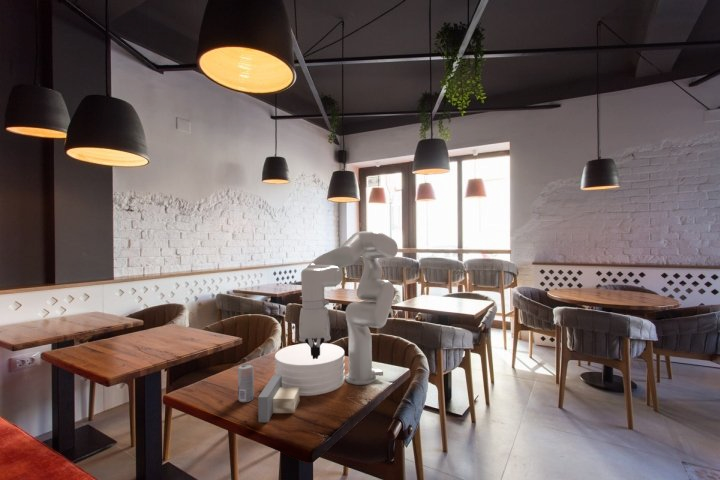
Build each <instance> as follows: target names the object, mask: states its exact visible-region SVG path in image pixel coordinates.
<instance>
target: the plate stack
mask: <svg viewBox="0 0 720 480" xmlns="http://www.w3.org/2000/svg"><path fill="white" fill-rule="evenodd" d="M314 343H315V345H316V344H317V342H314ZM345 358H346V357H345V350H344V348H343V347H341V346H339V345H336V344H333V343H327V342H323V343H322V344H321V345H320V355H319V356H318V359H313V356H311V347H310V346H309V345H308V344H307V343H306V342H303V343H298V344H294V345H289V346H286V347H284V348H281V349H280V350H278V351H277V352H275V354H274V365H275V367H274V375H282V387H299V397H300V396H301V397H303V396H306V397H310V396H317V395H323V394H326V393H330V392H333V391H335V390H338V389H339V388H340V387H341V386H343V384H344V383H345V382H346V380H345V376H346V374H345V373H346V372H345V371H346V370H345V366H346V364H345V361H346V359H345Z"/></svg>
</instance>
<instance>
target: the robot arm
mask: <svg viewBox="0 0 720 480" xmlns="http://www.w3.org/2000/svg"><path fill="white" fill-rule="evenodd" d="M397 254H398V244H397V242H396V240H395V239H393V238H392V237H390V236H388V235H387V234H384V233H383V232H380V231H377V230H375V231H374V230H372V231H358V232H355V233H353V234H352V235H351V236H350V237H349V238H348V239H347V240H346V241H344V242H343V244H341V245H340V246H339V247H337V248H334V249H332V250H330V251H328V252H325V253H323V254H321V255H319V256H317V257H316V258H315V259H314V260H312V262H310V263H309V264H308V265H307V267H306V268H304V269H302V271H301V272H300V273H301V274H300V276H301V278H300V279H301V302H302V304H301V305H302V307H301V308H300V313H299V320H298V323H299V324H298V327H299V328H298V333H299V339H298V340H299V342H303V343H307V344H308V345H309V346H310V347H311V356H313V359H318V356H319V355H320V345H321V344H322V343H326V342H328V341H330V340H331V338H332V337H331V334H330V333H331V325H330V324H331V322H330V314H329V311H328V306H327V305H330V301H329V300H326V298H325V288H333V287H336V286H339V285H340V284H341V282H342V281H343V279H344V272H343V270H342V268H346V267H349V266H352V265H354V264H355V263H357V261H358V260H359V259H360V258H362V263H363V270H362V274H361V278H360V279H359V282H358V283H359V284H358V286H357V289H356V296H357V298H358V299H359V300H360V301H352V302H350V303H349V304H348V305H347V306H346V308H345V321H346V324H347V333H348V341H347V342H348V373H346V374H345V382H347V383H349V384H351V385H356V386H362V385H365V386H366V385H369V384H372V383H374V382H375V381H376V380H377V376H384V370H381V369H380V368H373V367H374V365H373V354H372V353H373V352H372V351H373V349H372V348H373V345H372V344H373V343H372V333H371V331H370V329H369V328H373V329H382V328H383V327H384V326H386V323H387V320H388V318H389V314H390V311H391V308H392V304H393V301H394V297H395V288H394V284H393V283H392V282H391V281H390V280H388V279H387V280H386V279H382V277H383V275H384V270H383V268H382V265H381V264H380V262H379V260H378V259H383V260H384V259H388V260H390V259H394V258H395V257H396V255H397ZM314 339H316V342H315V340H314ZM315 343H317V344H316V345H315Z"/></svg>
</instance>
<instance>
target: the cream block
mask: <svg viewBox="0 0 720 480" xmlns="http://www.w3.org/2000/svg"><path fill="white" fill-rule="evenodd" d="M299 403H300V396H299V387H280V388H279V390H278V391H277V393H276V394H275V396H274V398H273V414H295V412H296V410H297V407H298V405H299Z"/></svg>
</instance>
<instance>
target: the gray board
mask: <svg viewBox="0 0 720 480" xmlns="http://www.w3.org/2000/svg"><path fill="white" fill-rule="evenodd" d="M280 387H282V375H275V374H273V375H272V377H271V378H270V380H269V381H267V383H266V385H265V387H264V388H263V389H262V391H261V392H260V394H259V396H257V404H258V405H257V407H258V408H257V411H258V413H257V414H258V418H257V419H258V420H257V421H258V423H269V421H270V419H271V417H272V415H273V414H274V413H273V398H274V396H275V394H276V393H277V391H278V390H279V388H280Z"/></svg>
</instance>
